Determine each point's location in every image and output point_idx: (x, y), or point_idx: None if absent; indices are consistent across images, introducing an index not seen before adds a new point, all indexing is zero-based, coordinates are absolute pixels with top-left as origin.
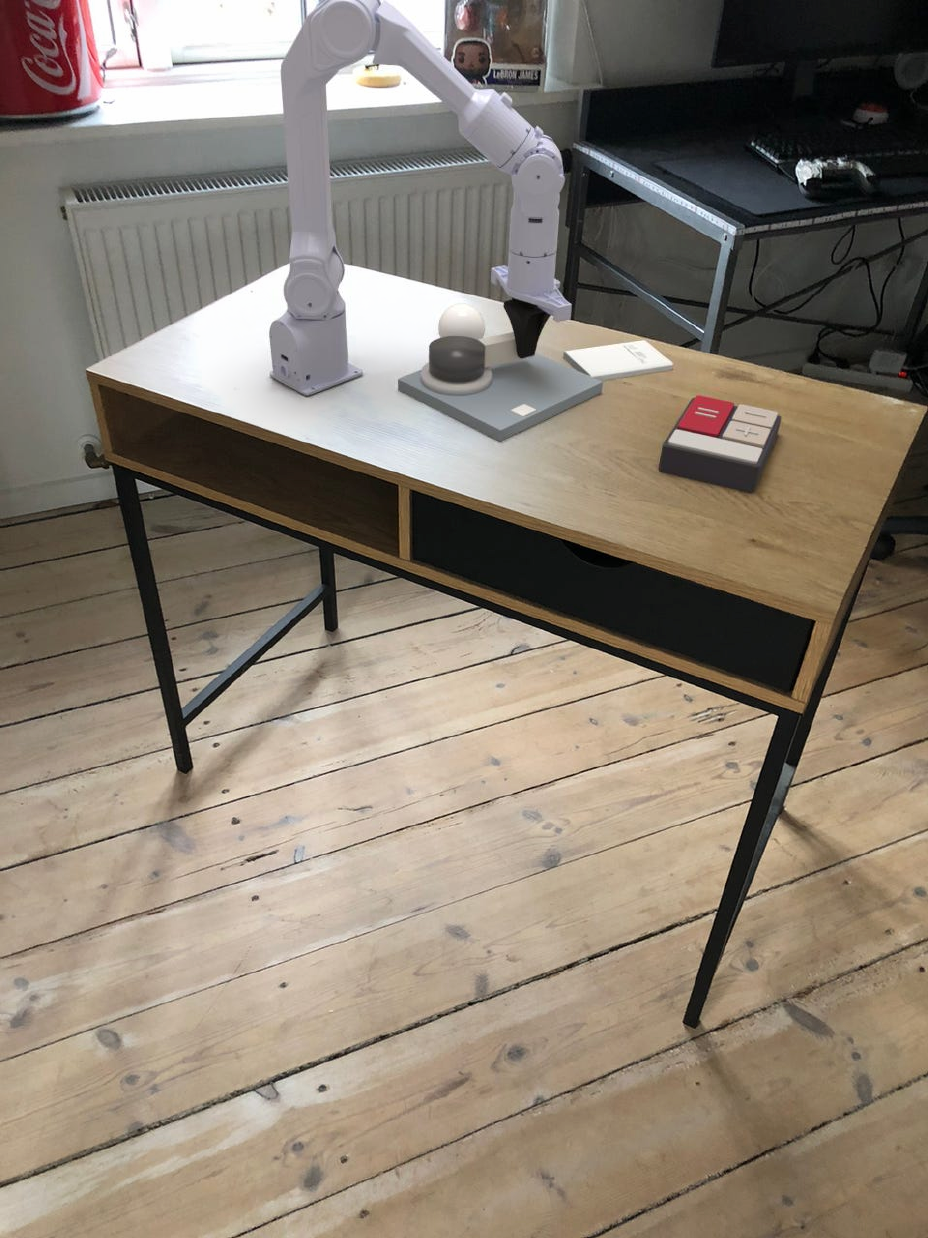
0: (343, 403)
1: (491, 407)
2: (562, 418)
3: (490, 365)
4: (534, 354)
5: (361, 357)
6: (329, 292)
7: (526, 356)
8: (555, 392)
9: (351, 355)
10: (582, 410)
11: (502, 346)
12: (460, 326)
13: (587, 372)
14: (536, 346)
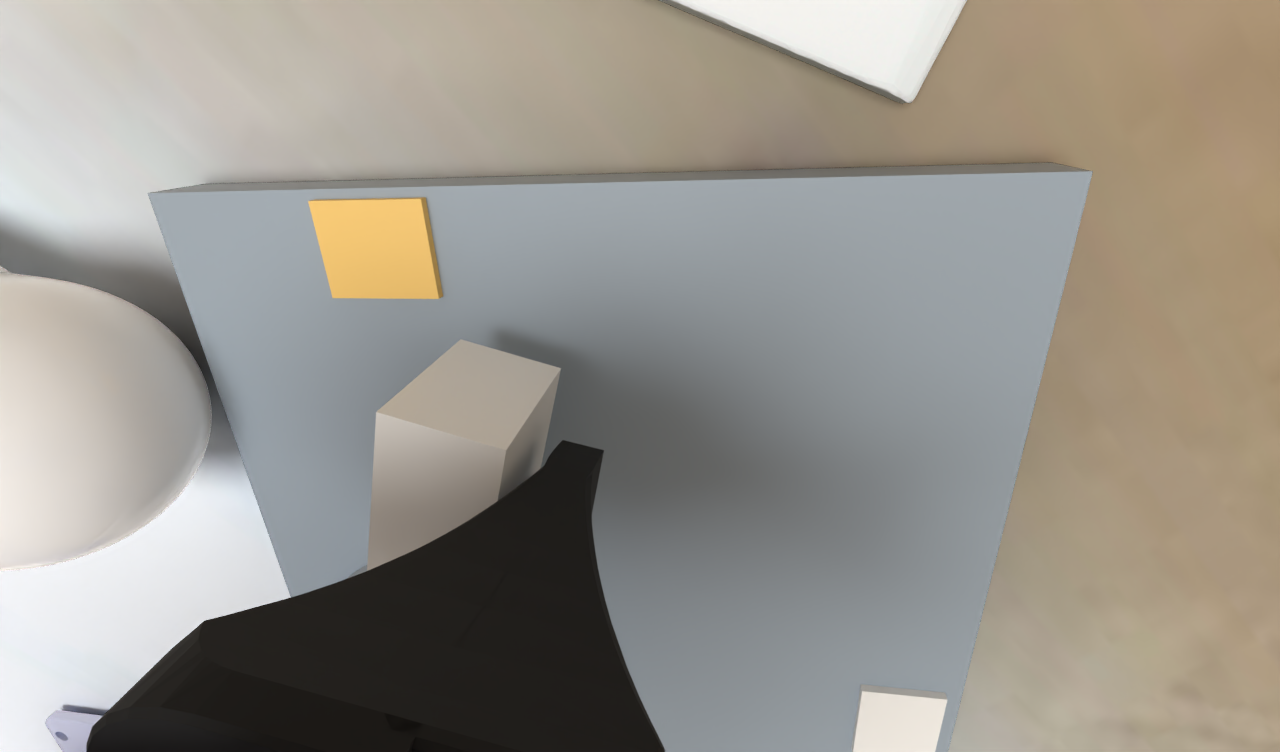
0: None
1: None
2: (1015, 550)
3: None
4: (603, 451)
5: (100, 650)
6: None
7: (592, 504)
8: (902, 504)
9: (75, 659)
10: (1063, 426)
11: None
12: (88, 546)
13: (858, 80)
14: (590, 469)
